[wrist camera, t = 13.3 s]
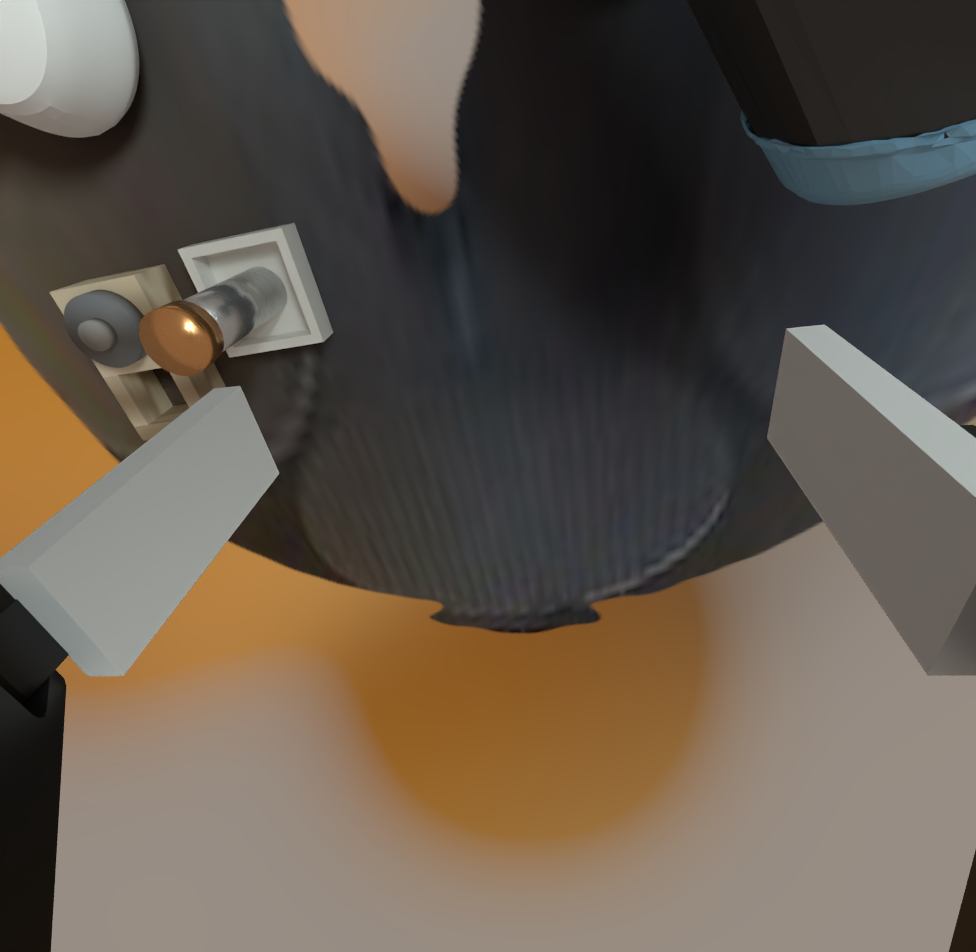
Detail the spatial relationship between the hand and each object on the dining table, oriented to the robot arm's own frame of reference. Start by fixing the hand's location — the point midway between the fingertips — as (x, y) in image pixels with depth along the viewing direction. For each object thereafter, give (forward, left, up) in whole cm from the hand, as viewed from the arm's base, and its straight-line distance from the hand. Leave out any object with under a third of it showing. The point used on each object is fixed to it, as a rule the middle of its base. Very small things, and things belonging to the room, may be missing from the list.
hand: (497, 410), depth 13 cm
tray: (+1, -23, -32) cm, 40 cm away
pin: (+1, -23, -32) cm, 39 cm away
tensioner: (+5, -35, -32) cm, 48 cm away
